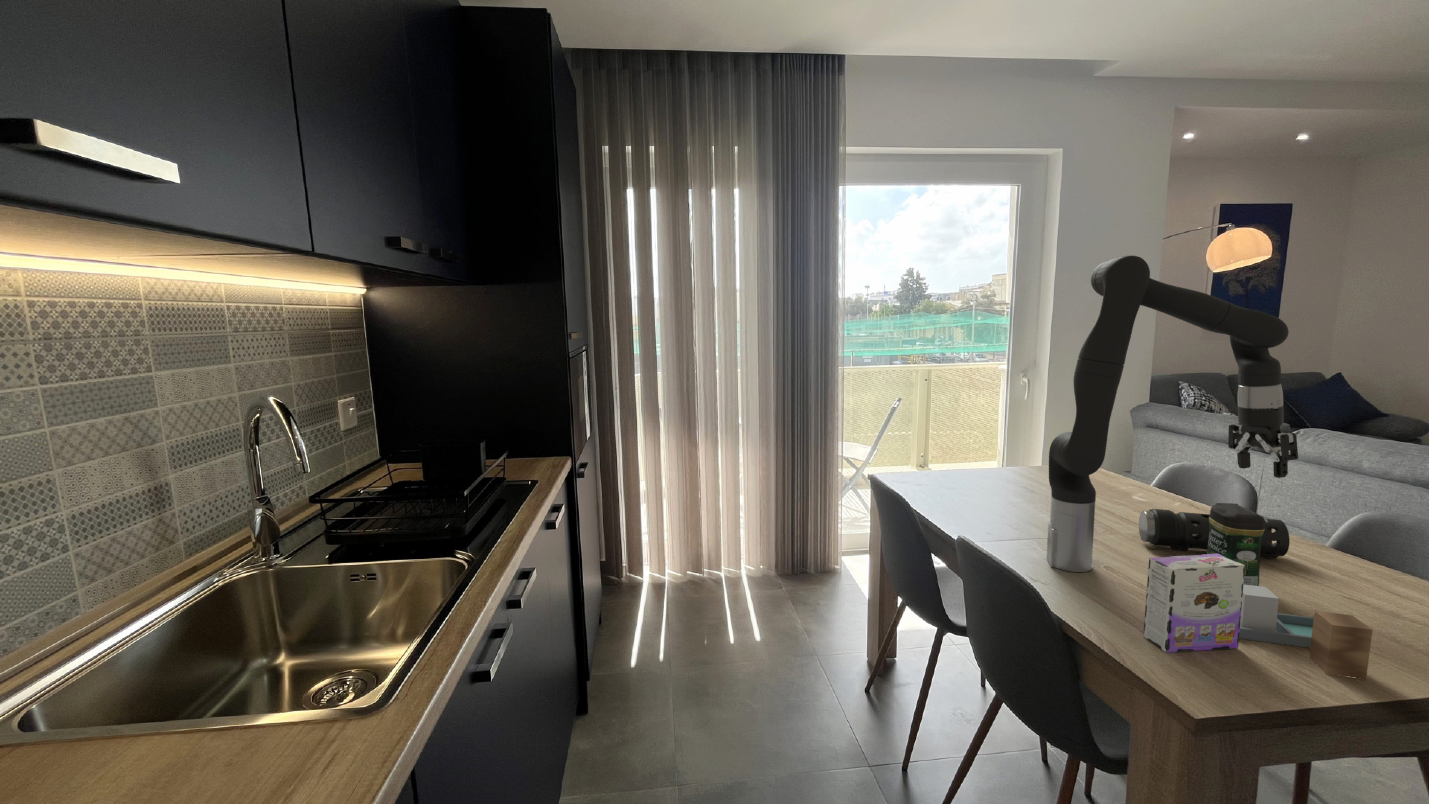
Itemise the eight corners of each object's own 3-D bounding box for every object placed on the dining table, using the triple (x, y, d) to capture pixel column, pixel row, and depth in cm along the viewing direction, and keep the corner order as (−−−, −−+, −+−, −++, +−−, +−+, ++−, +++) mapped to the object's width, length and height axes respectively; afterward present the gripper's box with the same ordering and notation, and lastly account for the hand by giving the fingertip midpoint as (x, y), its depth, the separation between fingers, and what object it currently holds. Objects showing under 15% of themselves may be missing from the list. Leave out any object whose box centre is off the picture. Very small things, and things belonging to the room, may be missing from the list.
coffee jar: (1197, 575, 135) (1203, 499, 132) (1237, 577, 133) (1244, 500, 130) (1222, 594, 125) (1229, 513, 123) (1265, 597, 124) (1274, 514, 121)
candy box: (1210, 632, 111) (1218, 552, 109) (1239, 649, 105) (1247, 565, 103) (1141, 636, 110) (1147, 555, 108) (1166, 653, 105) (1173, 568, 102)
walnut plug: (1326, 674, 97) (1332, 624, 96) (1309, 658, 102) (1314, 610, 101) (1365, 680, 95) (1372, 629, 94) (1346, 663, 100) (1352, 615, 99)
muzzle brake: (1288, 567, 138) (1292, 526, 136) (1146, 552, 148) (1149, 514, 147) (1268, 552, 146) (1272, 513, 145) (1136, 539, 157) (1138, 503, 156)
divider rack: (1232, 637, 109) (1236, 598, 108) (1211, 614, 117) (1215, 577, 116) (1358, 654, 102) (1363, 612, 101) (1326, 628, 111) (1331, 589, 110)
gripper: (1216, 402, 137) (1218, 467, 139) (1274, 410, 123) (1276, 483, 125) (1247, 397, 137) (1249, 462, 139) (1309, 405, 123) (1310, 478, 125)
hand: (1261, 472), depth 132 cm, fingers open, 8 cm apart
